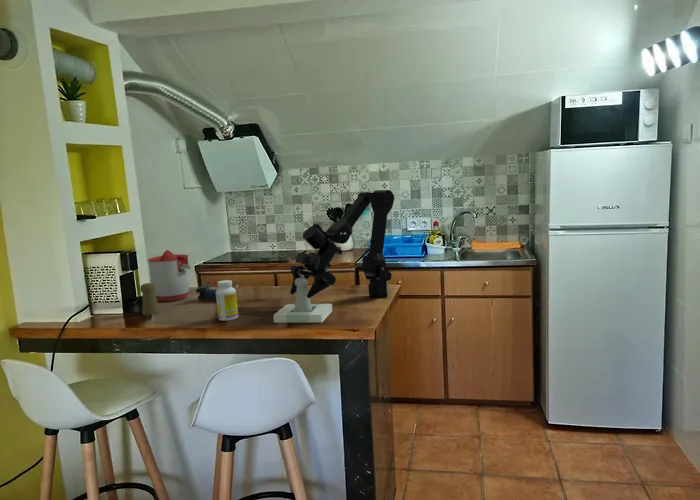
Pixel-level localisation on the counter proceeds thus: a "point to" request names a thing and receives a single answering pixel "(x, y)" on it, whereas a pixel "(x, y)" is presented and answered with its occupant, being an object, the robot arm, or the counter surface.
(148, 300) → the cork
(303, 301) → the grey pestle
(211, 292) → the dark blue irregular lump
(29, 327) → the counter surface
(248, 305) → the counter surface
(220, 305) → the supplement bottle
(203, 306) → the counter surface
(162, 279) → the citrus juicer
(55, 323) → the counter surface
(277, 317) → the square frame holder
